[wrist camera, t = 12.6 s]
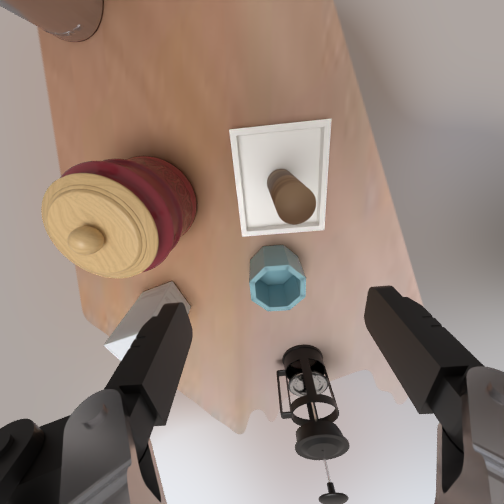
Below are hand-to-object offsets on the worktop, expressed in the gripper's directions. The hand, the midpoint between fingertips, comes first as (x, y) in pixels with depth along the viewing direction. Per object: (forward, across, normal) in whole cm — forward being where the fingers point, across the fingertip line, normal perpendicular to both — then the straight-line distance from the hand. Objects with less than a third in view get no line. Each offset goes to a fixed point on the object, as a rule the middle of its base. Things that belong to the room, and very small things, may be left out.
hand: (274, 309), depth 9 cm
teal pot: (+27, -1, +14) cm, 30 cm away
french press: (+27, -6, +40) cm, 49 cm away
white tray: (+27, -3, -1) cm, 27 cm away
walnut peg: (+26, -3, -1) cm, 26 cm away
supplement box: (+27, +21, +20) cm, 39 cm away
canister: (+27, +16, 0) cm, 32 cm away
